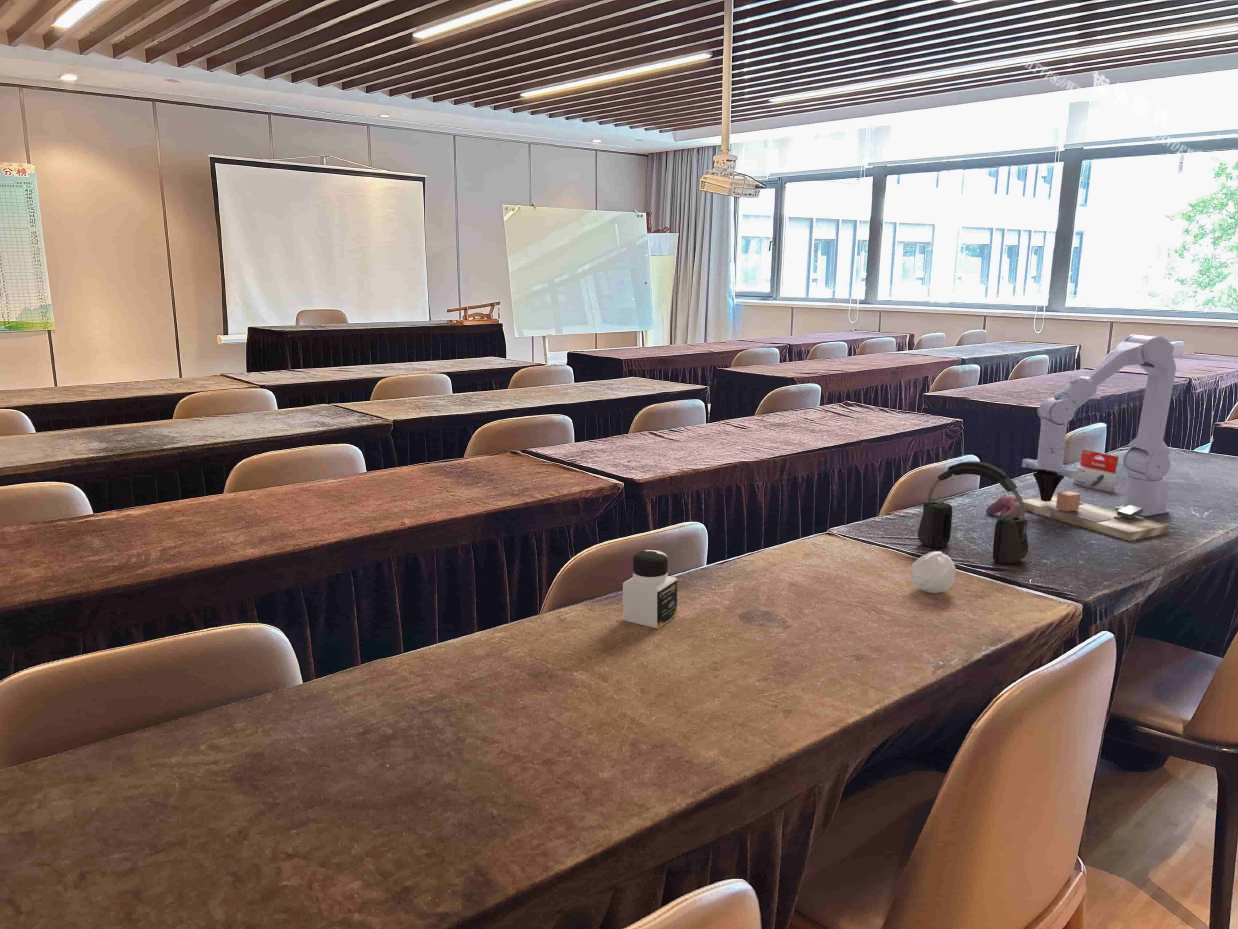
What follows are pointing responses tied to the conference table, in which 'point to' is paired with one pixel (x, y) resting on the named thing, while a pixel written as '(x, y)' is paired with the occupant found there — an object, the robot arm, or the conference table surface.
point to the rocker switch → (1129, 511)
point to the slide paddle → (1068, 501)
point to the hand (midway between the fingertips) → (1045, 500)
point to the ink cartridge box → (1097, 471)
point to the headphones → (1007, 529)
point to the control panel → (1098, 519)
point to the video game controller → (1005, 506)
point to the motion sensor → (933, 572)
